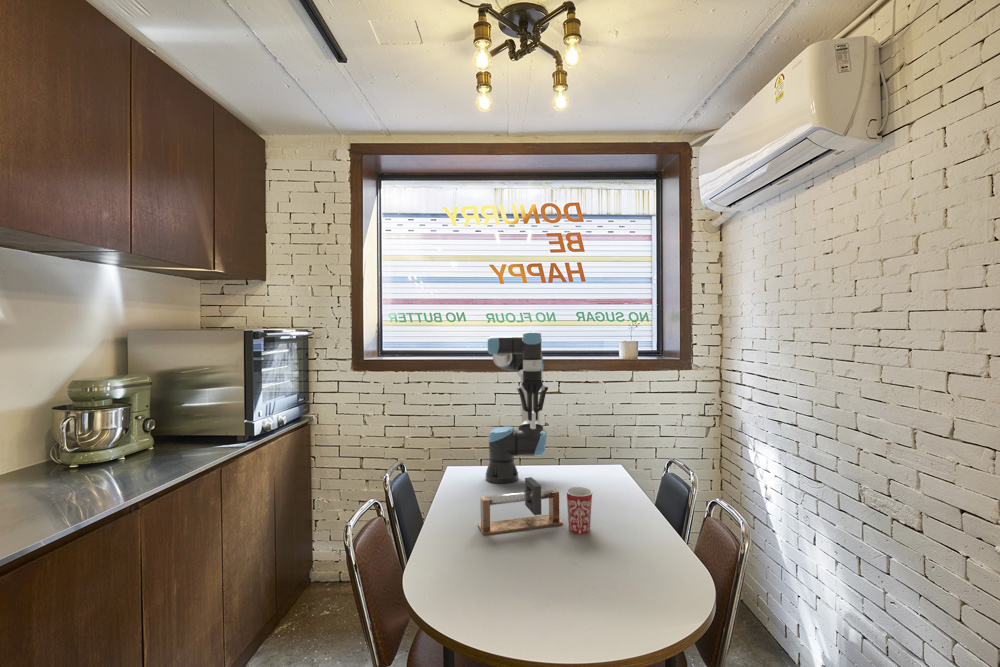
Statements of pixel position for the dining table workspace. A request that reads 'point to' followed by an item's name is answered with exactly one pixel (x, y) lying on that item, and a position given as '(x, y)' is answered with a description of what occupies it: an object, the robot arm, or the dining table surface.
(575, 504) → the mug
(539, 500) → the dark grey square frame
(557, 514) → the pipe rig
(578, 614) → the dining table surface
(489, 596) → the dining table surface
